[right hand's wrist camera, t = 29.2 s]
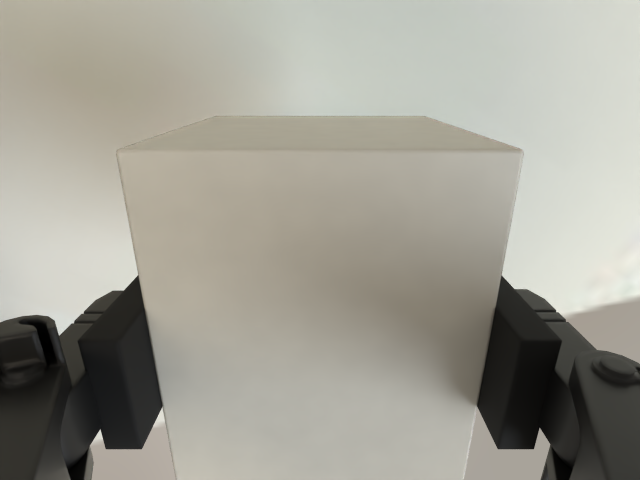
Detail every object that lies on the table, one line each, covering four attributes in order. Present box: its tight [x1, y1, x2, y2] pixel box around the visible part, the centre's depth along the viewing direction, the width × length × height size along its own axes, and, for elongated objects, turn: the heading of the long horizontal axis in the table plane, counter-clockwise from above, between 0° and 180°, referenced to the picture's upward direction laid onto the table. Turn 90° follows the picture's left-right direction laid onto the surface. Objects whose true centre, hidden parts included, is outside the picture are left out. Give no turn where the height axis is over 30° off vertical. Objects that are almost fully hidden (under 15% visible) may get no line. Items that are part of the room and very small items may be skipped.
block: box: [116, 116, 524, 480], centre depth 12 cm, size 8×9×7 cm
